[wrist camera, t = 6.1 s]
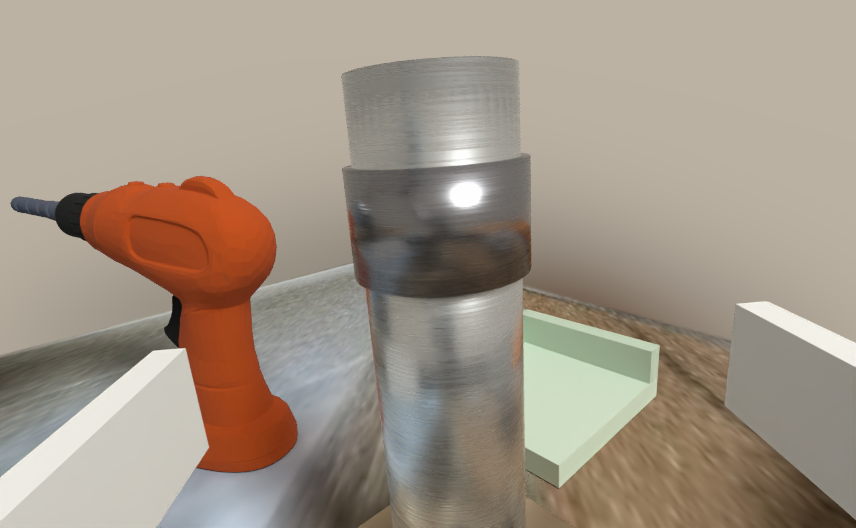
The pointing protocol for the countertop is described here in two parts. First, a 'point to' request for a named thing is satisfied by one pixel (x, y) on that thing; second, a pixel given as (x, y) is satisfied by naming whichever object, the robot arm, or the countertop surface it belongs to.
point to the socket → (538, 519)
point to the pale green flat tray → (579, 391)
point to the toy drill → (196, 297)
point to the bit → (444, 280)
